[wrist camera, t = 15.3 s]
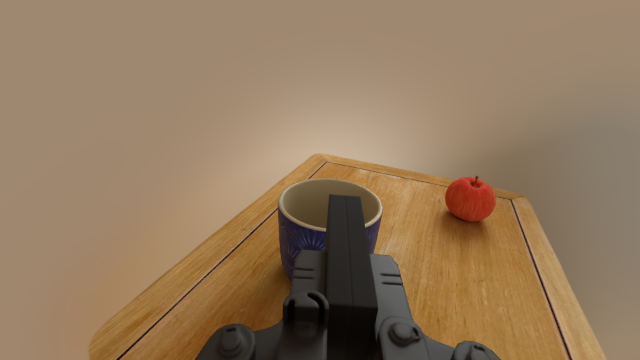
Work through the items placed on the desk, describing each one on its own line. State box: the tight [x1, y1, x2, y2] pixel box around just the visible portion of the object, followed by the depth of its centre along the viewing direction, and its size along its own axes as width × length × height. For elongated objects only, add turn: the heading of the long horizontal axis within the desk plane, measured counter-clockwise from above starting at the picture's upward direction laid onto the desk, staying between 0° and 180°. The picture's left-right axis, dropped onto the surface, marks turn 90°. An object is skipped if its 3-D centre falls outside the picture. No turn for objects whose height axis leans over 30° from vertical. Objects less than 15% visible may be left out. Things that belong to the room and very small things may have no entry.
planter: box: [278, 178, 383, 281], centre depth 39 cm, size 12×12×11 cm
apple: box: [445, 176, 495, 222], centre depth 54 cm, size 8×8×8 cm
